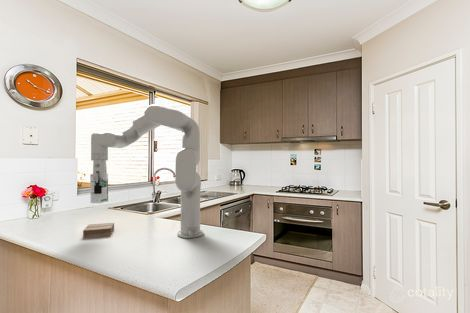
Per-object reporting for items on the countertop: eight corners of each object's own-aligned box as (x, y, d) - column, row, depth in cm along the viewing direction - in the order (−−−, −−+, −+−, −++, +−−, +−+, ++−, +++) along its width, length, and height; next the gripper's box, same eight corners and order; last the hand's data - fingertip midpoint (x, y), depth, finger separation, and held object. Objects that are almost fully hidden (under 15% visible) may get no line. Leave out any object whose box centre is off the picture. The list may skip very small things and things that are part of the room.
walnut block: (111, 236, 126) (111, 228, 126) (83, 239, 123) (83, 230, 123) (114, 230, 138) (114, 222, 138) (88, 232, 134) (88, 224, 134)
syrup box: (100, 203, 127) (100, 173, 127) (90, 203, 128) (90, 173, 128) (108, 201, 132) (108, 173, 133) (98, 201, 134) (98, 173, 134)
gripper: (105, 157, 123) (104, 194, 123) (110, 157, 140) (110, 190, 140) (87, 157, 121) (87, 195, 121) (94, 157, 138) (94, 191, 137)
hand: (99, 192), depth 130 cm, fingers closed on syrup box, 7 cm apart
